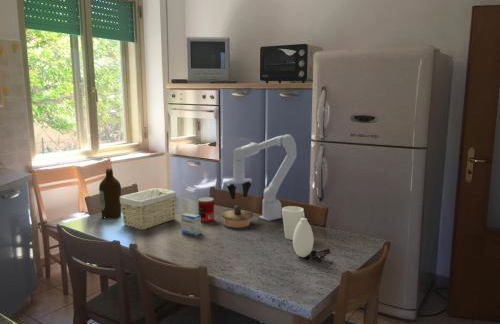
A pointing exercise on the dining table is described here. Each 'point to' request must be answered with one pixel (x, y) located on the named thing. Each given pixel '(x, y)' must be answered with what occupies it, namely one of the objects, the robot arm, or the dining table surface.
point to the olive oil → (110, 196)
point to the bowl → (237, 223)
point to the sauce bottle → (303, 238)
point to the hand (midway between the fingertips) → (239, 197)
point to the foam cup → (291, 219)
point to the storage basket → (148, 207)
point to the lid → (237, 214)
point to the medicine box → (191, 224)
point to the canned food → (206, 209)
